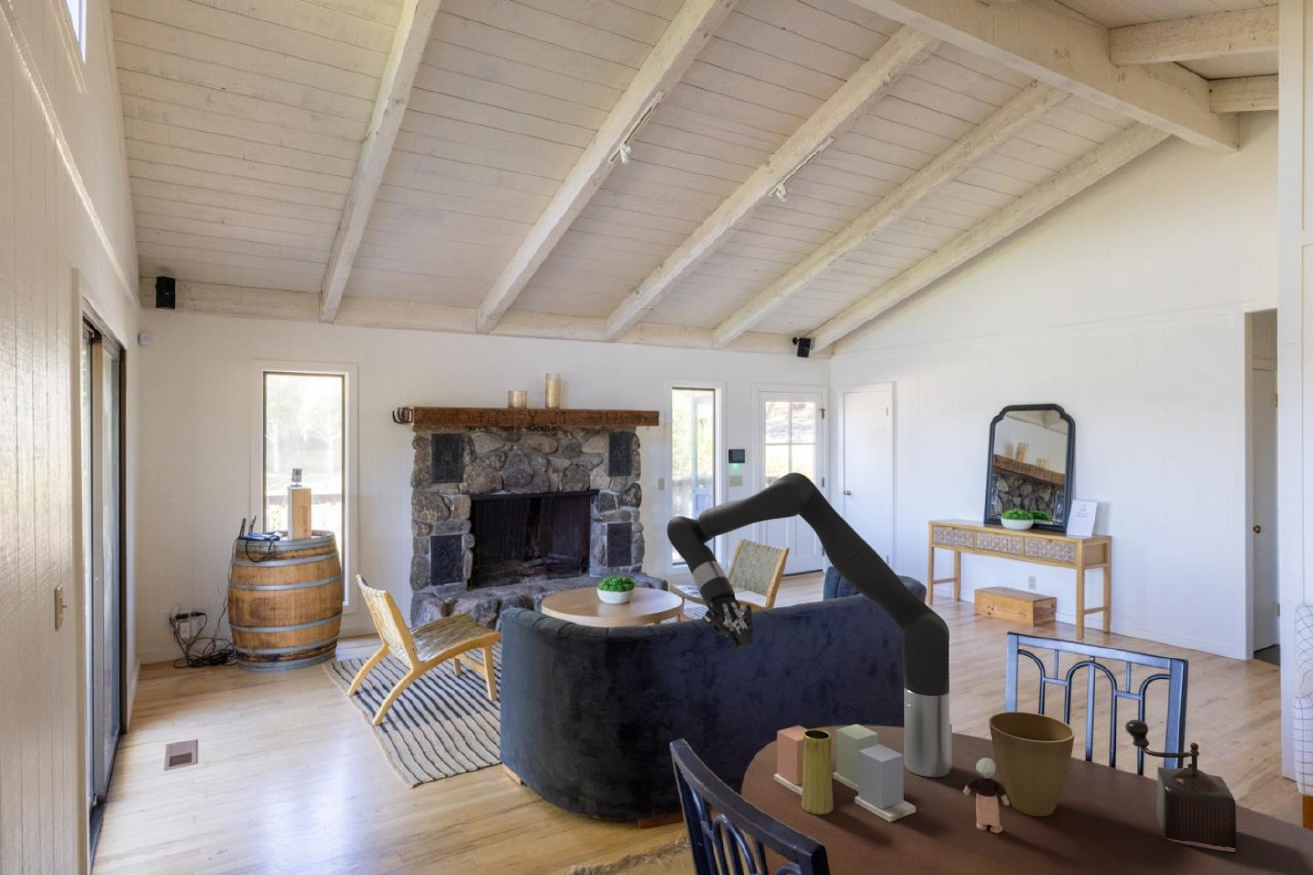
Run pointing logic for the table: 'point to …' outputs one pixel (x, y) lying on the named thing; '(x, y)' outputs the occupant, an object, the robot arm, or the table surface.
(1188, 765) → the dark brown coffee grinder
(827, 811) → the vase
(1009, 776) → the plant pot
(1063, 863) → the table surface
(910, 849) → the table surface
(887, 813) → the block bases
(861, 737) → the sage block
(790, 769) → the terracotta block
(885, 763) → the slate block
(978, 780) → the grandmother figurine
